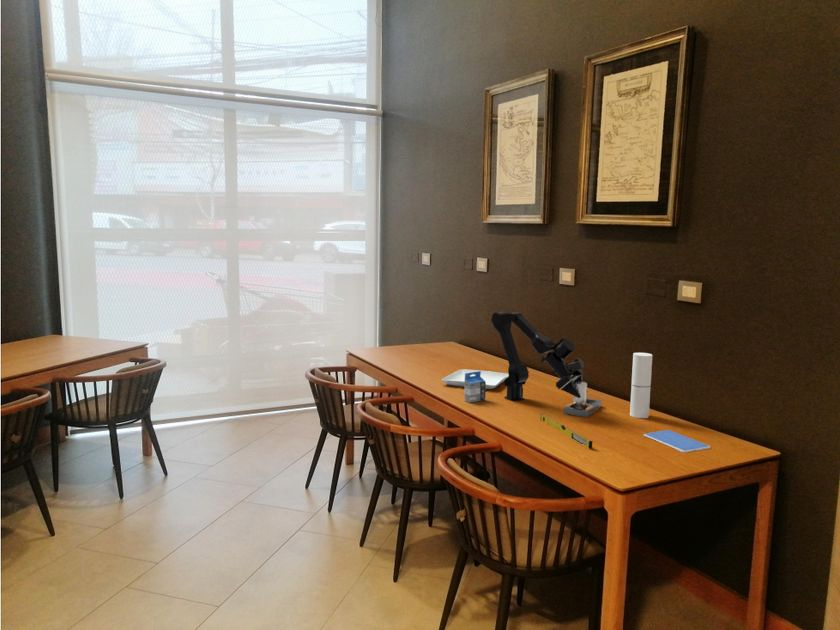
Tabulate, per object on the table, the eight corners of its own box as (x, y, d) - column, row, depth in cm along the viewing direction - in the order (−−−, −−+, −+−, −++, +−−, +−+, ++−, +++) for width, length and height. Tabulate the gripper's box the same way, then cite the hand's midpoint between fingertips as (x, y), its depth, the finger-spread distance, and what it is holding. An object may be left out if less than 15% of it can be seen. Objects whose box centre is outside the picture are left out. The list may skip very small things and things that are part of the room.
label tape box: (469, 403, 264) (470, 374, 263) (463, 401, 268) (464, 373, 266) (485, 400, 269) (486, 372, 268) (479, 398, 273) (480, 370, 271)
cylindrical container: (636, 418, 244) (640, 356, 241) (626, 413, 251) (629, 352, 248) (652, 417, 246) (656, 355, 243) (641, 412, 253) (645, 352, 250)
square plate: (512, 380, 308) (512, 373, 307) (495, 393, 283) (495, 384, 282) (460, 375, 319) (461, 367, 318) (440, 386, 294) (440, 378, 294)
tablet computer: (711, 449, 212) (712, 445, 211) (684, 454, 206) (684, 450, 206) (668, 432, 229) (668, 429, 229) (642, 437, 224) (642, 433, 224)
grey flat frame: (586, 417, 245) (587, 410, 245) (563, 413, 250) (563, 407, 250) (601, 406, 262) (601, 399, 262) (579, 402, 267) (579, 396, 267)
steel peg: (579, 414, 249) (580, 385, 247) (570, 411, 253) (571, 382, 251) (588, 412, 251) (589, 383, 250) (579, 409, 255) (580, 381, 254)
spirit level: (540, 421, 241) (540, 413, 240) (543, 420, 241) (543, 413, 241) (588, 449, 209) (589, 441, 209) (592, 449, 210) (592, 440, 209)
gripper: (564, 356, 243) (591, 387, 239) (579, 349, 259) (604, 378, 255) (544, 373, 248) (570, 404, 244) (560, 365, 264) (584, 394, 260)
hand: (583, 394), depth 250 cm, fingers open, 9 cm apart
